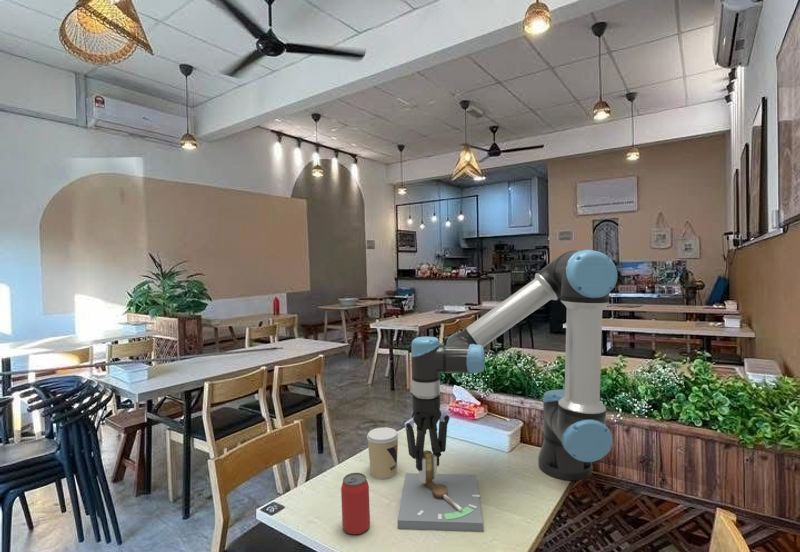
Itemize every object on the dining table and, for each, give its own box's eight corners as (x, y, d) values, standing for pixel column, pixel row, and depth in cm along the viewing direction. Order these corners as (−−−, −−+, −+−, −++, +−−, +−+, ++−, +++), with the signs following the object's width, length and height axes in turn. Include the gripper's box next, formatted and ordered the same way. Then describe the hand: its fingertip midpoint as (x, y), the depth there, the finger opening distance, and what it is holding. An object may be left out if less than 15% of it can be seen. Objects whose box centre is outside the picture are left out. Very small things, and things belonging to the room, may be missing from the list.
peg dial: (467, 509, 103) (466, 474, 103) (454, 514, 101) (453, 479, 101) (431, 479, 118) (430, 449, 117) (419, 483, 116) (418, 452, 115)
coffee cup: (395, 481, 121) (394, 440, 121) (364, 479, 123) (363, 438, 123) (402, 465, 131) (400, 427, 130) (372, 463, 133) (371, 426, 132)
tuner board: (476, 481, 120) (476, 473, 120) (484, 531, 98) (484, 522, 98) (405, 479, 122) (405, 472, 122) (397, 528, 100) (397, 519, 100)
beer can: (337, 527, 102) (335, 478, 101) (358, 515, 106) (356, 468, 106) (354, 540, 97) (352, 488, 96) (375, 526, 101) (374, 477, 101)
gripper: (444, 386, 121) (446, 467, 122) (393, 395, 115) (396, 480, 116) (458, 393, 114) (460, 479, 115) (405, 403, 108) (407, 493, 109)
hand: (428, 479), depth 115 cm, fingers open, 3 cm apart
